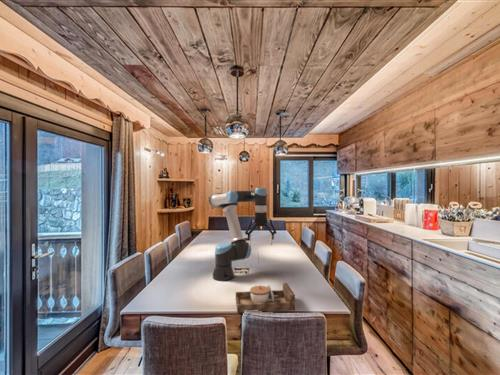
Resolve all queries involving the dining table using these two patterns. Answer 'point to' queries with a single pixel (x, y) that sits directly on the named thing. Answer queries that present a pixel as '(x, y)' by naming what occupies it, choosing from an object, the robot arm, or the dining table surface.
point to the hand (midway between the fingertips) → (260, 245)
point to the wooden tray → (279, 304)
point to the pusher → (272, 295)
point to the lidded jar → (260, 294)
